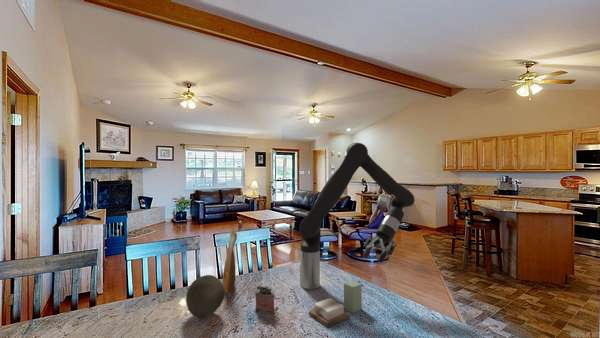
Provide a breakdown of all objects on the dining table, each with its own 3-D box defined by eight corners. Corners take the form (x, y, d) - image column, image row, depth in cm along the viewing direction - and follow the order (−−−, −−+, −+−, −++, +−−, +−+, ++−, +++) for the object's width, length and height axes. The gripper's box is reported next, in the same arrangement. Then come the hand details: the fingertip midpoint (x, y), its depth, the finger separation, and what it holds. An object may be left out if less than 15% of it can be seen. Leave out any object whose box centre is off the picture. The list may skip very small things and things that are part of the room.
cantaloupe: (188, 329, 102) (188, 286, 102) (184, 311, 114) (184, 274, 114) (228, 319, 108) (228, 279, 108) (220, 303, 121) (220, 268, 121)
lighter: (275, 311, 114) (275, 286, 114) (272, 315, 111) (272, 289, 111) (257, 308, 117) (257, 283, 117) (253, 311, 114) (253, 286, 114)
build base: (308, 314, 111) (308, 303, 111) (330, 306, 118) (330, 295, 118) (327, 327, 102) (327, 314, 102) (349, 317, 109) (349, 306, 109)
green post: (344, 307, 117) (343, 283, 117) (352, 304, 120) (352, 280, 120) (353, 312, 113) (352, 287, 113) (361, 308, 116) (361, 284, 116)
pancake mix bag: (237, 279, 148) (236, 224, 148) (237, 294, 130) (236, 232, 130) (223, 280, 147) (223, 225, 147) (221, 296, 128) (221, 233, 128)
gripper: (371, 221, 133) (355, 251, 127) (397, 225, 121) (380, 258, 115) (380, 231, 136) (364, 260, 130) (405, 235, 124) (389, 268, 118)
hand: (371, 259), depth 122 cm, fingers open, 8 cm apart
